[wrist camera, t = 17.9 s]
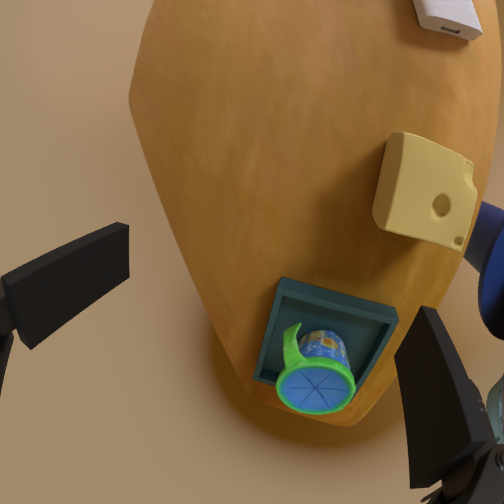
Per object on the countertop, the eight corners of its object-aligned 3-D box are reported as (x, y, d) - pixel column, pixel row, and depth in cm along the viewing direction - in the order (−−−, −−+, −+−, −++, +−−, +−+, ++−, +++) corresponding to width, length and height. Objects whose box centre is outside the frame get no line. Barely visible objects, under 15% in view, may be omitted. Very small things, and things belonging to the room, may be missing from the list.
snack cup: (269, 318, 42) (251, 361, 33) (333, 295, 38) (331, 338, 29) (309, 384, 45) (301, 429, 36) (366, 368, 41) (368, 414, 31)
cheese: (451, 158, 28) (488, 163, 19) (433, 233, 32) (462, 260, 23) (383, 134, 30) (403, 127, 21) (366, 213, 34) (378, 235, 25)
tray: (395, 307, 37) (399, 320, 34) (349, 390, 44) (349, 404, 41) (281, 276, 40) (277, 287, 37) (257, 366, 48) (252, 379, 44)
